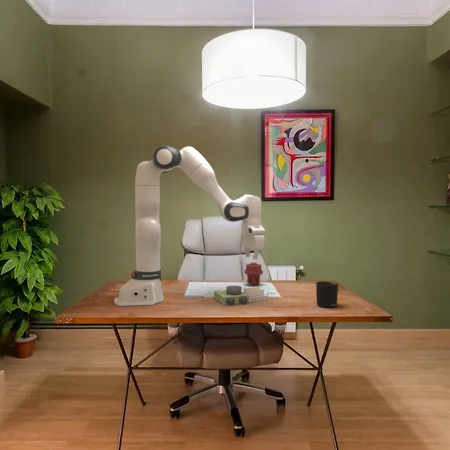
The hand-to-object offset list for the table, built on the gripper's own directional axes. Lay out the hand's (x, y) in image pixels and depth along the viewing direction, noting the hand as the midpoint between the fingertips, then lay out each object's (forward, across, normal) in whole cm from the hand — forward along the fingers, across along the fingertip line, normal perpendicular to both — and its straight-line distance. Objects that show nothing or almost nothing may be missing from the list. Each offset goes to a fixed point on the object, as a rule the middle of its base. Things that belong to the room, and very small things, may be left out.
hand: (251, 258), depth 192 cm
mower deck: (+19, +2, -5) cm, 20 cm away
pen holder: (+19, +23, +27) cm, 40 cm away
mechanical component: (+19, -28, +14) cm, 37 cm away
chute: (+19, +1, +1) cm, 19 cm away
